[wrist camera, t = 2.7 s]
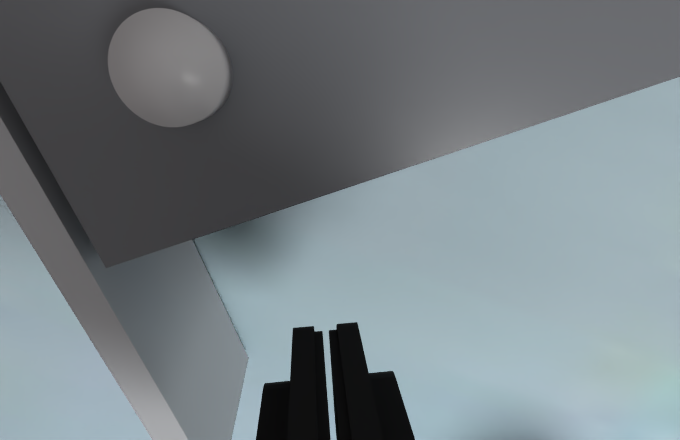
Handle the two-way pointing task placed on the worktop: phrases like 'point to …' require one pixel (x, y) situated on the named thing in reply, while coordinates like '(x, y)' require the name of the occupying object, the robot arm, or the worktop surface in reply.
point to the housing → (296, 95)
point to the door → (132, 304)
